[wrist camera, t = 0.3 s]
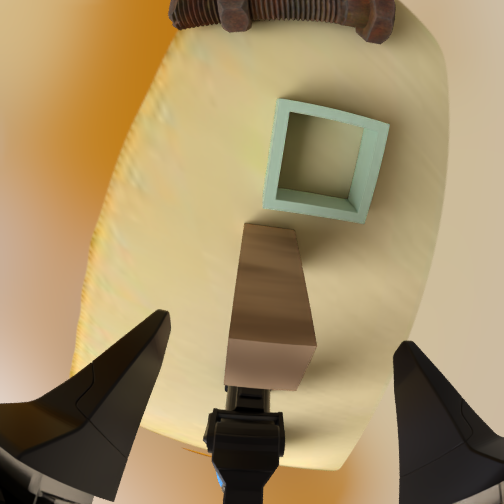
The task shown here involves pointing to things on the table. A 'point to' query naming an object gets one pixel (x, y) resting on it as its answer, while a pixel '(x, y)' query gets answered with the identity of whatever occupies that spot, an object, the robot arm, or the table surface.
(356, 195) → the collar
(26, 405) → the robot arm
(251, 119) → the table surface
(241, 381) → the peg
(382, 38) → the bolt
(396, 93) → the table surface
